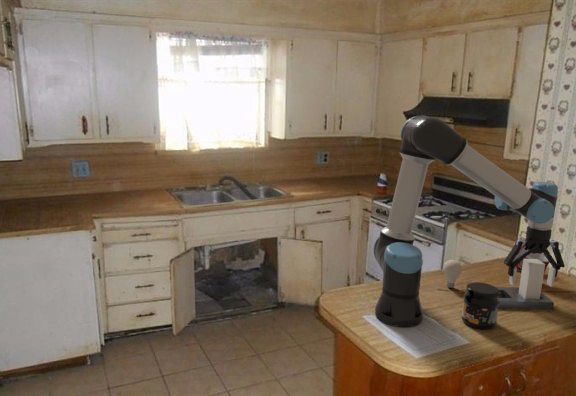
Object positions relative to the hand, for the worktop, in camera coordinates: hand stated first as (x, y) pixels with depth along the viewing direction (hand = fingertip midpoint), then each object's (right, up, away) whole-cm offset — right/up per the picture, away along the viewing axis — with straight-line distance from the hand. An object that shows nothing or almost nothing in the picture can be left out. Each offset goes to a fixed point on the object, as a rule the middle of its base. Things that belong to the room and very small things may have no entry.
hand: (530, 284), depth 162 cm
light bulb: (-25, -3, +11) cm, 27 cm away
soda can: (+12, 0, +32) cm, 34 cm away
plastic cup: (+9, -3, +17) cm, 20 cm away
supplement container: (-25, -9, -15) cm, 31 cm away
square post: (0, -6, +1) cm, 6 cm away
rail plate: (-6, -6, +1) cm, 8 cm away
